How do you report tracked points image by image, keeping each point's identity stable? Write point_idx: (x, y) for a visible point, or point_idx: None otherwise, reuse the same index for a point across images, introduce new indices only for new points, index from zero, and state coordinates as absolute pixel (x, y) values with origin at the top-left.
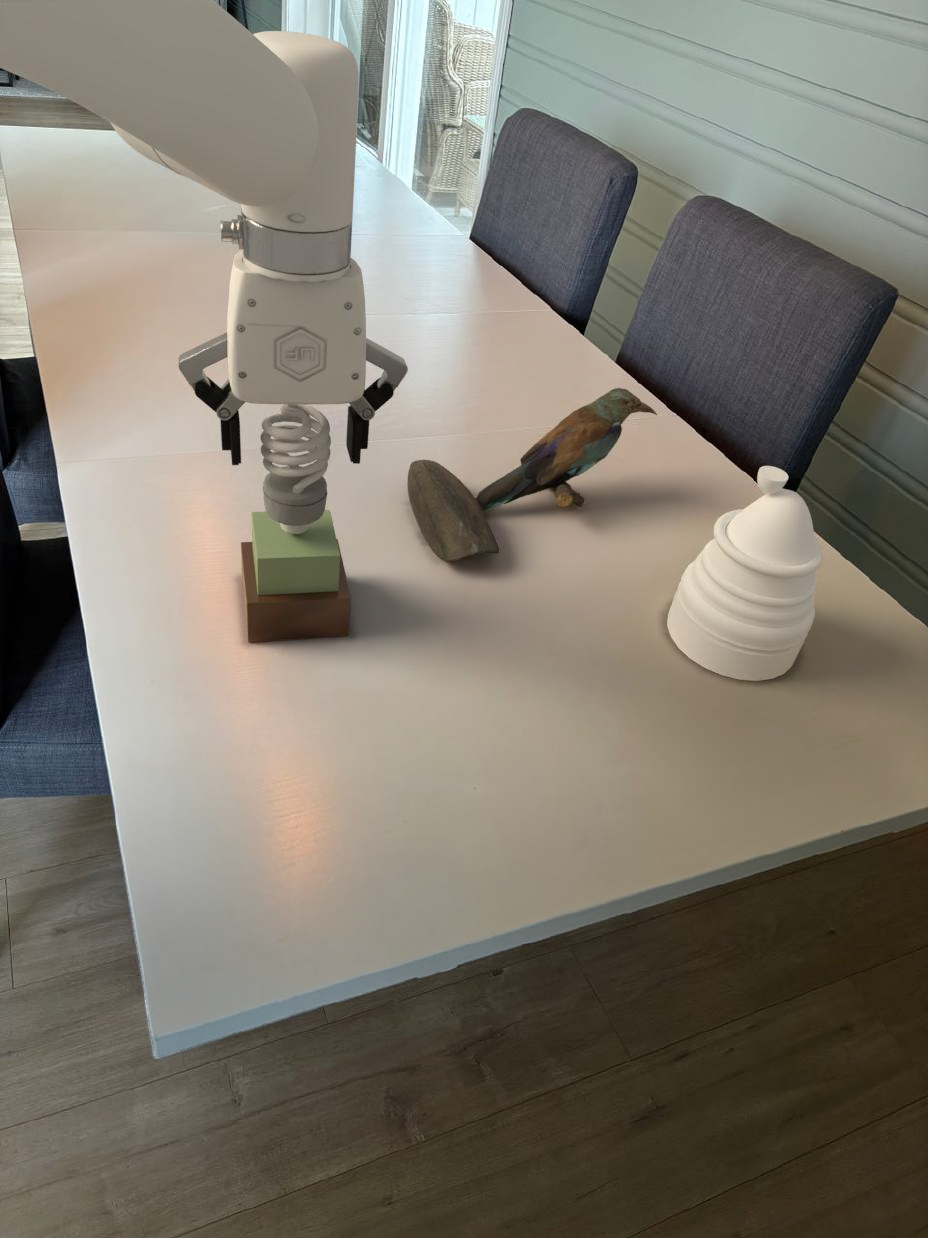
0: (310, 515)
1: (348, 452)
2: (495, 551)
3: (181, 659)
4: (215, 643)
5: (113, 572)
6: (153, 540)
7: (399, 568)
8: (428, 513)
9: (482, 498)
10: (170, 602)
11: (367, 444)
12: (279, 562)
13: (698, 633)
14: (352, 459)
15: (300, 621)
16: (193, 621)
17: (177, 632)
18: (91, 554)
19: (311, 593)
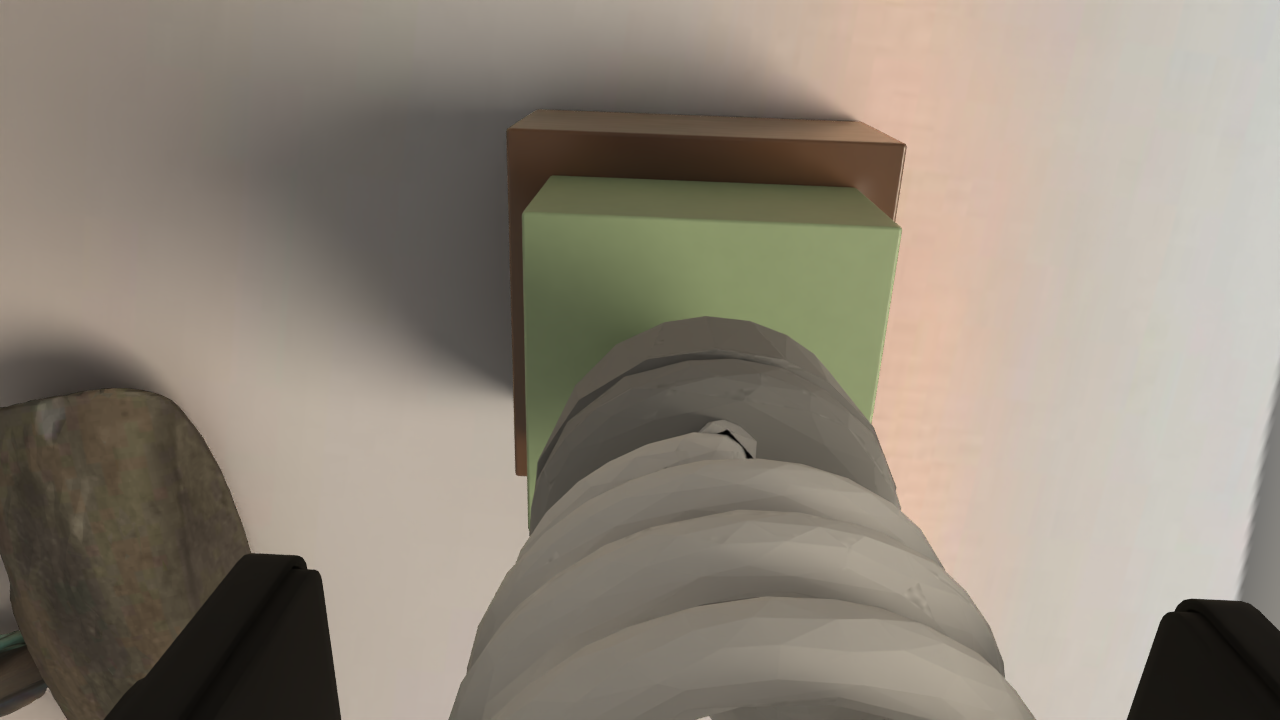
0: (649, 341)
1: (333, 682)
2: None
3: (1085, 69)
4: (963, 133)
5: (1178, 491)
6: (1036, 609)
7: (338, 415)
8: (198, 600)
9: (30, 667)
10: (1053, 343)
11: (124, 700)
12: (797, 216)
13: None
14: (296, 580)
15: (698, 123)
16: (1006, 248)
17: (1066, 202)
18: (1217, 570)
19: (654, 175)
